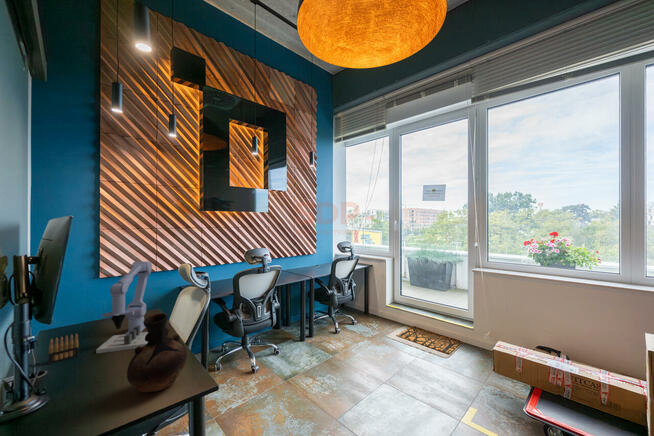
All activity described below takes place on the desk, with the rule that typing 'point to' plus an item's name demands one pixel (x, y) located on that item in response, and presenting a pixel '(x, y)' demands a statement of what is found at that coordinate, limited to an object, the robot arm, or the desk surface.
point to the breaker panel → (122, 343)
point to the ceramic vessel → (157, 357)
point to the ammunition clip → (63, 349)
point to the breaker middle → (133, 333)
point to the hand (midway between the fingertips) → (118, 328)
